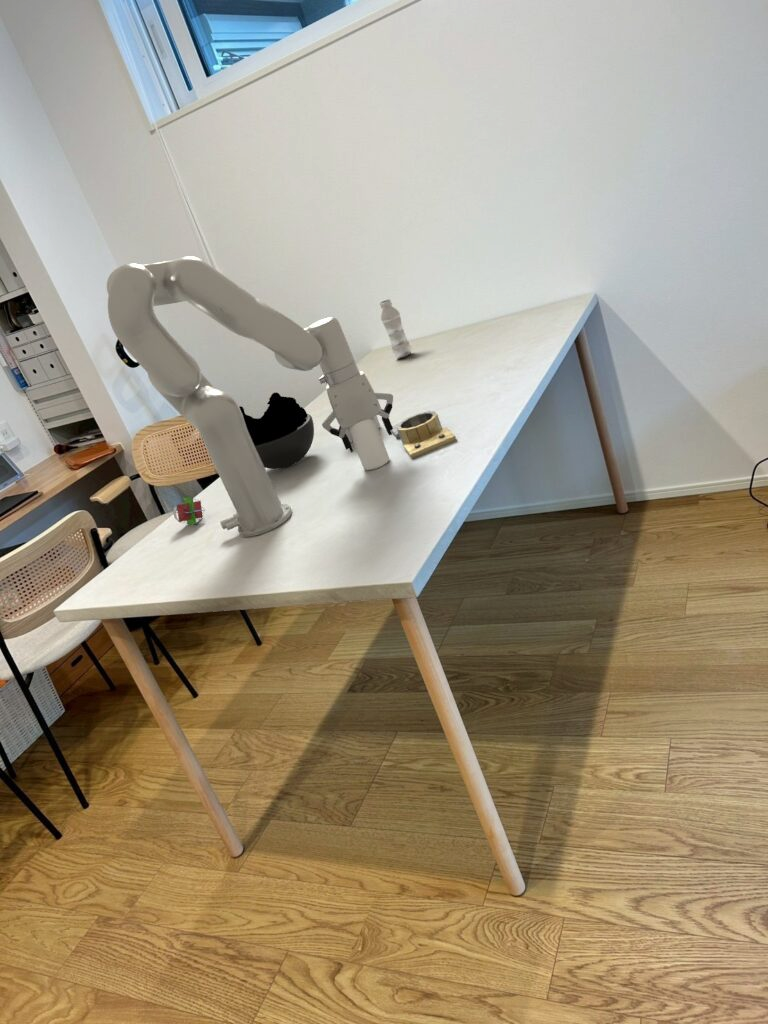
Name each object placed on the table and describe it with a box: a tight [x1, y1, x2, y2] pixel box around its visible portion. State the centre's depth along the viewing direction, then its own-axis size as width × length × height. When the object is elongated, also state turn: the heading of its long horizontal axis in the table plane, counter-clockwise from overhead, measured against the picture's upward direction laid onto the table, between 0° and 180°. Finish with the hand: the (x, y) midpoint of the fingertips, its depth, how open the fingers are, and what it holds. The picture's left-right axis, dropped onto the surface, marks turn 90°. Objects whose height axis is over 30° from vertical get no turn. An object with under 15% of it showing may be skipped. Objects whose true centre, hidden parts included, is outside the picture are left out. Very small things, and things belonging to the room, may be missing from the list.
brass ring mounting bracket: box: [391, 410, 458, 460], centre depth 189 cm, size 11×26×4 cm, turn 11°
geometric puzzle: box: [172, 497, 206, 526], centre depth 191 cm, size 7×7×8 cm
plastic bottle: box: [379, 299, 413, 359], centre depth 268 cm, size 6×7×20 cm
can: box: [348, 417, 390, 471], centre depth 180 cm, size 6×6×12 cm
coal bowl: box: [239, 392, 315, 470], centre depth 203 cm, size 20×20×19 cm
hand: (370, 442), depth 181 cm, fingers open, 9 cm apart
